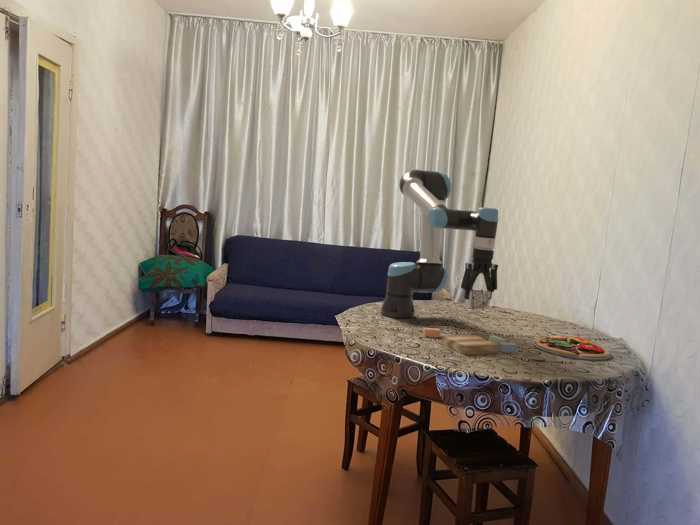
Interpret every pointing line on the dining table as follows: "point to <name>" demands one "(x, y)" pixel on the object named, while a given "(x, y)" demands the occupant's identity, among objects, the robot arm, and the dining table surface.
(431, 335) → the terracotta brick
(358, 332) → the dining table surface
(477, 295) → the game die
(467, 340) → the oak block
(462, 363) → the dining table surface
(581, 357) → the toy pizza
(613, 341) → the dining table surface
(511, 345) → the slate blue brick
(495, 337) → the sage brick
